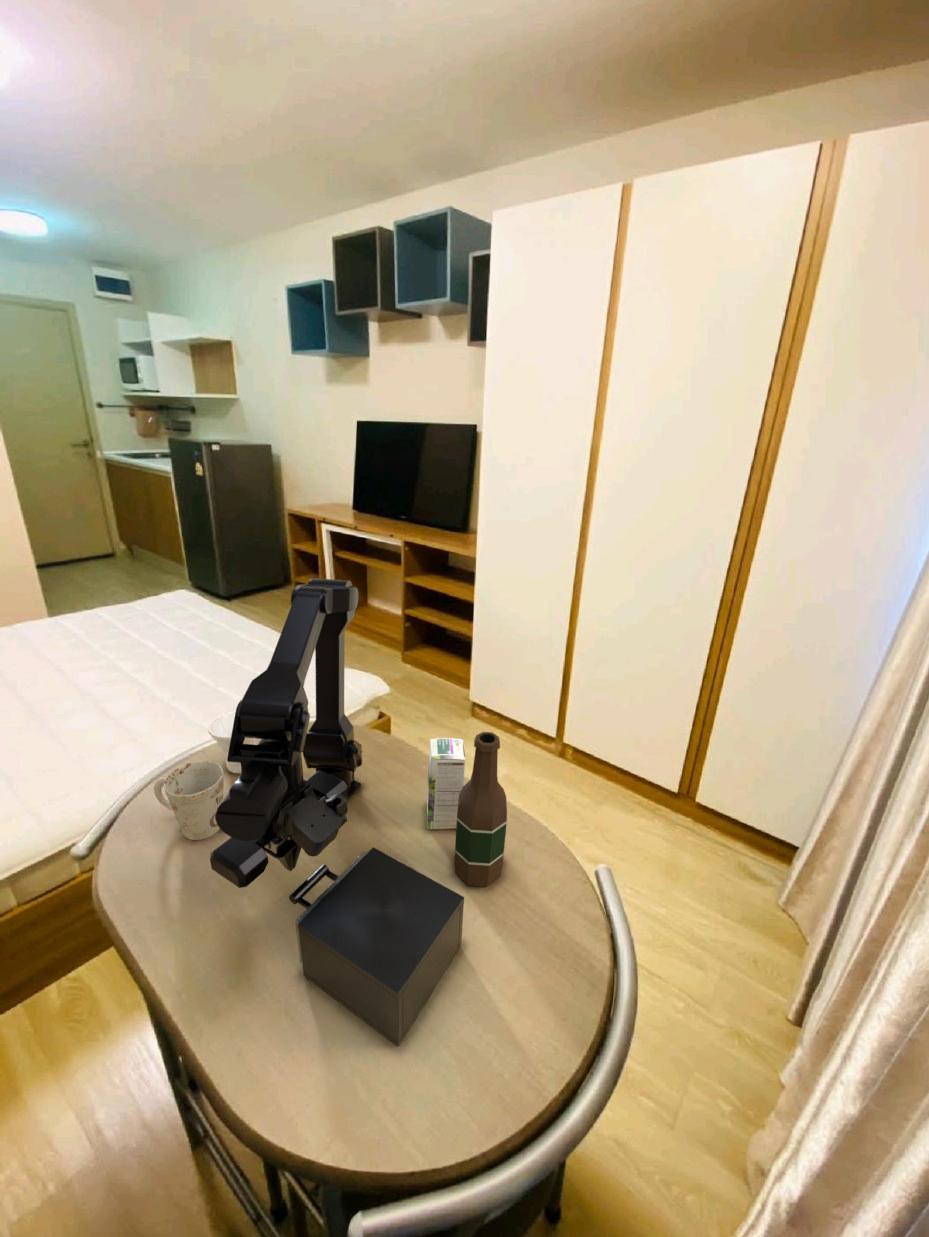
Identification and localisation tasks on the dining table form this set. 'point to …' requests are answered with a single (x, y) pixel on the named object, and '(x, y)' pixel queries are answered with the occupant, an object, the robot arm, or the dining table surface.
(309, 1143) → the dining table surface
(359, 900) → the small cabinet
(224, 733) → the cup
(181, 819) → the mug
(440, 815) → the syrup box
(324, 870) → the drawer
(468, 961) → the dining table surface
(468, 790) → the beer bottle
